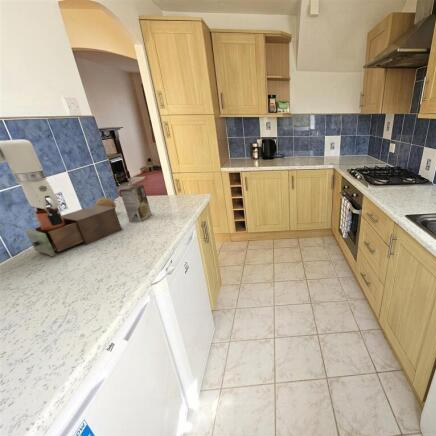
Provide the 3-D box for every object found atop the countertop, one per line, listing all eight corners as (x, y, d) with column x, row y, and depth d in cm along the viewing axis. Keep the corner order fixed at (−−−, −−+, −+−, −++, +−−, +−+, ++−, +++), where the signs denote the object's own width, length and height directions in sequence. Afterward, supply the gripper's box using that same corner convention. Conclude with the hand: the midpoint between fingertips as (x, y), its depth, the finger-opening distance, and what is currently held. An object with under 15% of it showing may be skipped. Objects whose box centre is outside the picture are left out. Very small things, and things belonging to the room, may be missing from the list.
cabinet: (86, 244, 98) (76, 220, 94) (68, 239, 103) (58, 216, 98) (122, 229, 110) (114, 207, 106) (104, 225, 115) (96, 204, 111)
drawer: (47, 257, 88) (36, 236, 84) (31, 252, 92) (20, 231, 88) (91, 239, 100) (83, 220, 96) (75, 235, 104) (67, 216, 101)
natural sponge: (120, 215, 126) (114, 197, 122) (100, 220, 120) (92, 202, 116) (116, 211, 132) (110, 193, 128) (96, 216, 126) (89, 198, 122)
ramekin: (59, 221, 96) (52, 206, 94) (68, 224, 94) (62, 208, 91) (38, 228, 91) (30, 212, 88) (47, 231, 88) (40, 215, 86)
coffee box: (140, 214, 127) (131, 184, 120) (152, 214, 127) (143, 184, 120) (128, 221, 118) (118, 190, 112) (141, 221, 118) (132, 189, 112)
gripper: (57, 175, 85) (77, 222, 92) (31, 172, 91) (51, 216, 98) (29, 181, 78) (52, 230, 86) (3, 177, 85) (27, 223, 92)
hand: (52, 222), depth 92 cm, fingers closed on ramekin, 6 cm apart
